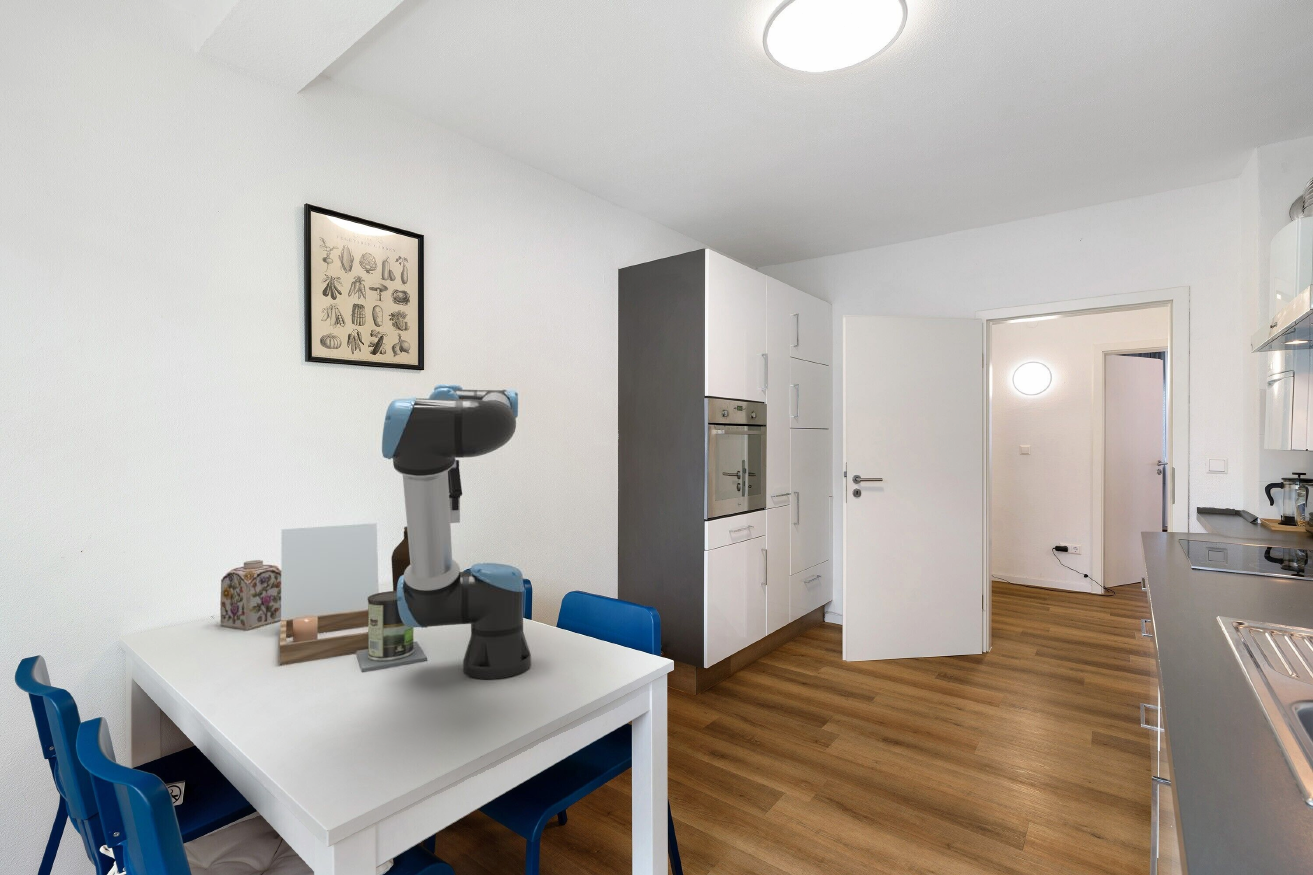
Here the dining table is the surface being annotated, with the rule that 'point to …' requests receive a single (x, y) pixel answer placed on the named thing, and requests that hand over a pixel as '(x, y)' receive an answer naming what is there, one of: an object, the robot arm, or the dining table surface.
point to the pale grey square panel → (328, 569)
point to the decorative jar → (251, 596)
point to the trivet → (371, 665)
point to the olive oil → (400, 559)
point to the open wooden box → (325, 645)
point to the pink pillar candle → (305, 628)
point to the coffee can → (387, 629)
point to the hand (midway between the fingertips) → (448, 520)
